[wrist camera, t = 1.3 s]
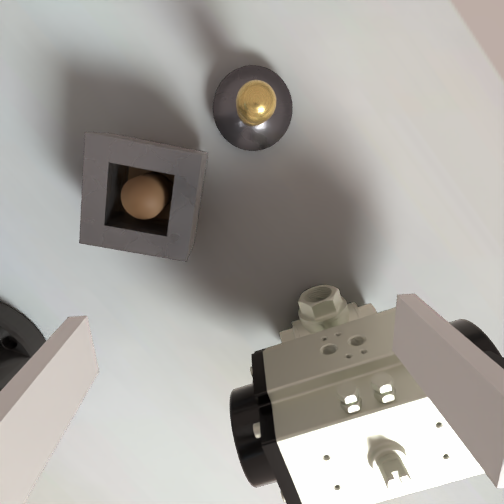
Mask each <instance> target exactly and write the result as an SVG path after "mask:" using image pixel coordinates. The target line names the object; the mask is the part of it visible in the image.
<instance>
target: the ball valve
mask: <svg viewBox="0 0 504 504" xmlns="http://www.w3.org/2000/svg"><path fill="white" fill-rule="evenodd" d="M298 304H299V307H300V308H299V311H298V315H299V318H300V319H299V320H296V321H293V322H292V325H293V328H291V329H288V330H284V331H281V332H280V338H281V341H282V343H281V344H277V345H274V346H271V347H268V348H265V349H262V350H258V351H255V353H254V354H252V367H250V371H251V375H252V377H253V383H252V384H249V385H246V386H242V387H239V388H236V389H234V390H233V391H232V392H231V395H230V419H231V426H232V432H233V437H234V442H235V446H236V450H237V453H238V457H239V460H240V463H241V466H242V469H243V471H244V473H245V476H246V478H247V479H248V481H249V483H250V484H251V485H252V486H253V487H256V488H257V487H261V486H264V485H268V484H271V483H274V482H277V483H278V485H279V487H280V489H281V495H282V499H283V501H284V502H286V503H287V504H374V503H378V502H381V501H385V500H389V499H392V498H396V497H399V496H403V495H407V494H410V493H414V492H417V491H421V490H425V489H428V488H432V487H435V486H439V485H443V484H446V483H450V482H453V481H457V480H461V479H464V478H468V477H471V476H475V475H478V474H482V473H485V472H484V471H483V469H482V468H481V467H480V465H479V464H478V463H477V461H476V460H475V459H474V457H473V456H472V455H471V454H470V452H469V451H468V450H467V448H466V447H465V446H464V444H463V443H462V442H461V440H460V439H459V438H458V436H457V435H456V434H455V432H454V431H453V430H452V428H451V427H450V426H449V424H448V423H447V422H446V421H445V419H444V418H443V417H442V415H441V414H440V413H439V411H438V410H437V409H436V407H435V406H434V405H433V403H432V402H431V401H430V399H429V398H428V397H427V395H426V394H425V393H424V391H423V390H422V389H421V388H420V386H419V385H418V384H417V382H416V381H415V380H414V378H413V377H412V376H411V374H410V373H409V372H408V370H407V369H406V368H405V366H404V365H403V364H402V362H401V361H400V360H399V358H398V357H397V356H396V355H395V353H394V352H393V351H392V347H393V336H394V325H395V313H396V307H394V308H391V309H388V310H385V311H382V312H379V313H377V311H376V310H375V308H374V306H373V305H372V304H371V303H370V304H366V305H363V306H360V307H358V306H357V305H356V304H355V303H354V302H352V303H349V304H347V302H346V300H345V299H344V298H343V297H341V296H340V292H339V289H338V288H336V287H334V286H331V285H319V286H315V287H312V288H310V289H308V290H306V291H304V292H303V293H302V294H301V296H300V298H299V300H298ZM449 323H450V324H451V325H452V326H453V327H454V328H456V329H457V330H458V331H459V332H460V333H462V334H463V335H464V336H465V337H466V338H467V339H469V340H470V341H471V342H472V343H473V344H474V345H476V346H477V347H478V348H479V349H480V350H482V351H491V352H493V353H495V354H497V355H499V356H501V354H500V353H499V351H498V350H497V348H496V347H495V345H494V344H493V343H492V341H491V340H490V339H489V338H488V336H487V335H486V334H485V333H484V332H483V331H482V330H481V329H480V328H479V327H477V326H476V325H475V324H473V323H472V322H470V321H468V320H465V319H459V320H455V321H452V322H449ZM501 357H502V356H501Z"/></svg>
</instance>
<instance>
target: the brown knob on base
mask: <svg viewBox="0 0 504 504" xmlns="http://www.w3.org/2000/svg"><path fill="white" fill-rule="evenodd" d="M174 177H175V175H172V174H167V173H162V172H157V171H152V170H146V169H141V168H136V167H131V166H129V175H128V181H127V182H126V183H125V184H124V186H123V188H122V191H121V202H122V205H123V207H124V208H125V212H128V213H129V214H130V215H132V216H133V217H135V218H138V219H150V218H153V217H156V218H161V219H167V220H169V216H170V209H171V201H172V193H173V185H174Z"/></svg>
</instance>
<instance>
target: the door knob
mask: <svg viewBox="0 0 504 504" xmlns="http://www.w3.org/2000/svg"><path fill="white" fill-rule="evenodd" d="M213 113H214V119H215V122H216V125H217V127H218V129H219V131H220V133H221V134H222V135H223V137H224V138H225V139H226V140H227V141H228V142H230V143H231V144H232V145H234V146H236V147H238V148H240V149H244V150H249V151H256V150H262V149H265V148H268V147H270V146H272V145H273V144H275V143H276V142H277V141H279V139H280V138H281V137H282V136H283V135H284V134H285V132H286V130H287V129H288V126H289V124H290V121H291V117H292V100H291V95H290V92H289V90H288V88H287V86H286V84H285V83H284V81H283V80H282V79H281V78H280V77H279V76H278V75H277V74H276V73H275V72H273V71H271V70H270V69H267V68H265V67H262V66H256V65H250V66H244V67H240V68H238V69H236V70H234V71H232V72H231V73H230V74H228V75H227V76H226V77H225V78H224V79H223V80H222V82H221V83H220V85H219V87H218V89H217V91H216V94H215V97H214V103H213Z"/></svg>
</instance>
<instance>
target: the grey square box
mask: <svg viewBox="0 0 504 504" xmlns="http://www.w3.org/2000/svg"><path fill="white" fill-rule="evenodd" d="M207 158H208V152H203V151H198V150H193V149H188V148H183V147H178V146H173V145H168V144H163V143H158V142H153V141H148V140H143V139H138V138H133V137H128V136H123V135H118V134H113V133H99V132H85V142H84V161H83V181H82V201H81V220H80V240H79V243H81V244H87V245H93V246H98V247H104V248H110V249H116V250H122V251H128V252H133V253H139V254H145V255H151V256H157V257H163V258H168V259H174V260H180V261H186V262H187V259H188V257H189V255H190V252H191V250H192V248H193V245H194V243H195V236H196V230H197V223H198V217H199V210H200V204H201V197H202V190H203V184H204V177H205V171H206V164H207ZM129 166H131V167H136V168H141V169H146V170H152V171H157V172H162V173H167V174H172V175H175V177H174V185H173V193H172V201H171V209H170V216H169V220H167V219H161V218H156V217H153V218H150V219H138V218H135V217H133V216H132V215H130V214H129V213H128V212H125V208H124V207H123V205H122V202H121V191H122V188H123V186H124V184H125V183H126V182H127V181H128V175H129Z"/></svg>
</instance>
